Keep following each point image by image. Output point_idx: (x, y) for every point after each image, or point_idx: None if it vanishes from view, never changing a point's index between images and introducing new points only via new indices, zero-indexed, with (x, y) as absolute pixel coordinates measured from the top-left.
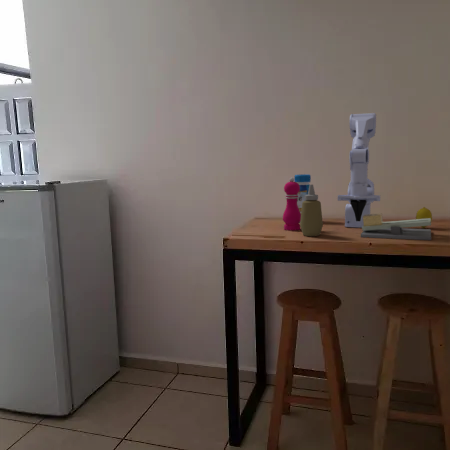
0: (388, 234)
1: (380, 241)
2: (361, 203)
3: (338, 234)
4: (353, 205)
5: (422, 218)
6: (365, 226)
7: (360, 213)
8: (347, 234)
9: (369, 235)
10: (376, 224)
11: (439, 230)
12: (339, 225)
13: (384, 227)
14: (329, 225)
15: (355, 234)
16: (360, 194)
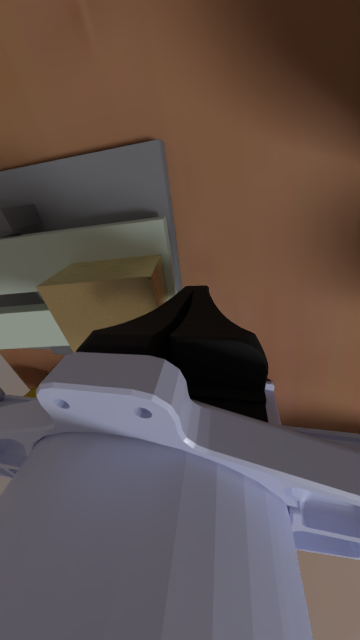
0: (40, 200)
1: (6, 6)
2: (115, 334)
3: (305, 200)
4: (218, 328)
5: (33, 397)
6: (149, 244)
7: (168, 303)
8: (251, 219)
9: (113, 149)
10: (94, 263)
11: (20, 366)
12: (293, 407)
13: (49, 231)
14: (334, 406)
15: (209, 234)
16: (44, 473)
